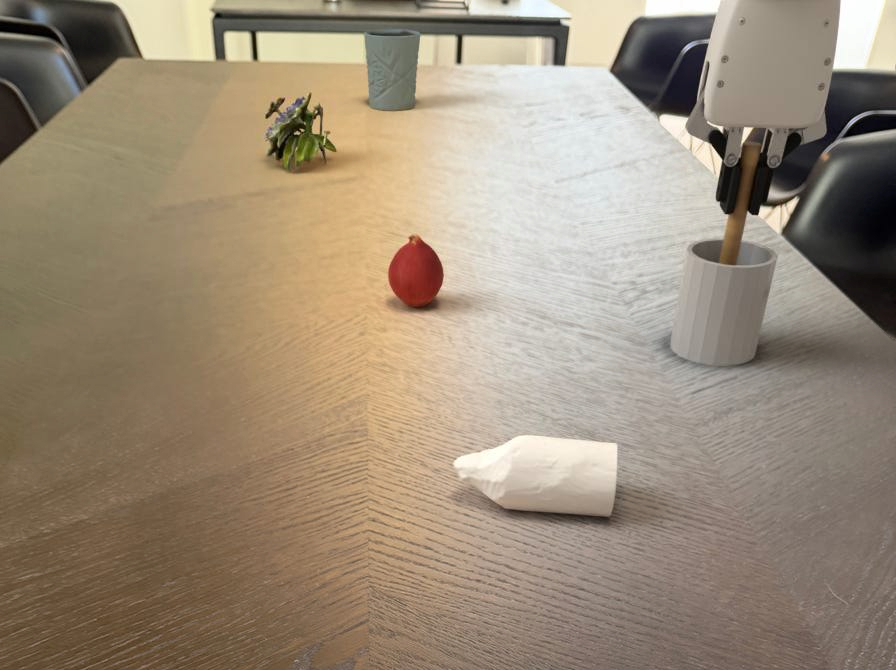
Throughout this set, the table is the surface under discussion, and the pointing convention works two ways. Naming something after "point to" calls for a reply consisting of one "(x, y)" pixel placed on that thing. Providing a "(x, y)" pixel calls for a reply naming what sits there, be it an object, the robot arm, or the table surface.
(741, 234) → the mallet
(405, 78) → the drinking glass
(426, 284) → the onion
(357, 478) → the table surface
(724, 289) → the faceted pen holder
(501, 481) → the white tapered cylinder
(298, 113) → the passion flower
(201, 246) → the table surface
